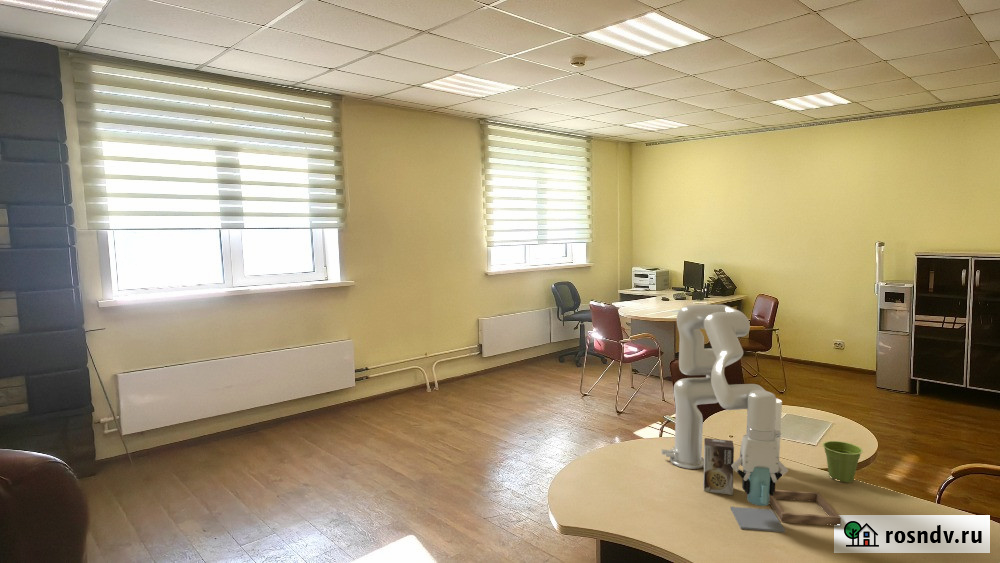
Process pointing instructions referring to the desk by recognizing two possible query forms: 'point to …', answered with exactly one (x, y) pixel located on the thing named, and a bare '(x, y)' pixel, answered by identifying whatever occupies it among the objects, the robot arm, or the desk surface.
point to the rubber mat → (757, 519)
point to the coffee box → (718, 466)
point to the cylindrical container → (778, 420)
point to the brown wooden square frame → (804, 518)
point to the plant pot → (842, 459)
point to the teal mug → (759, 487)
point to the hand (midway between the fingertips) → (758, 492)
